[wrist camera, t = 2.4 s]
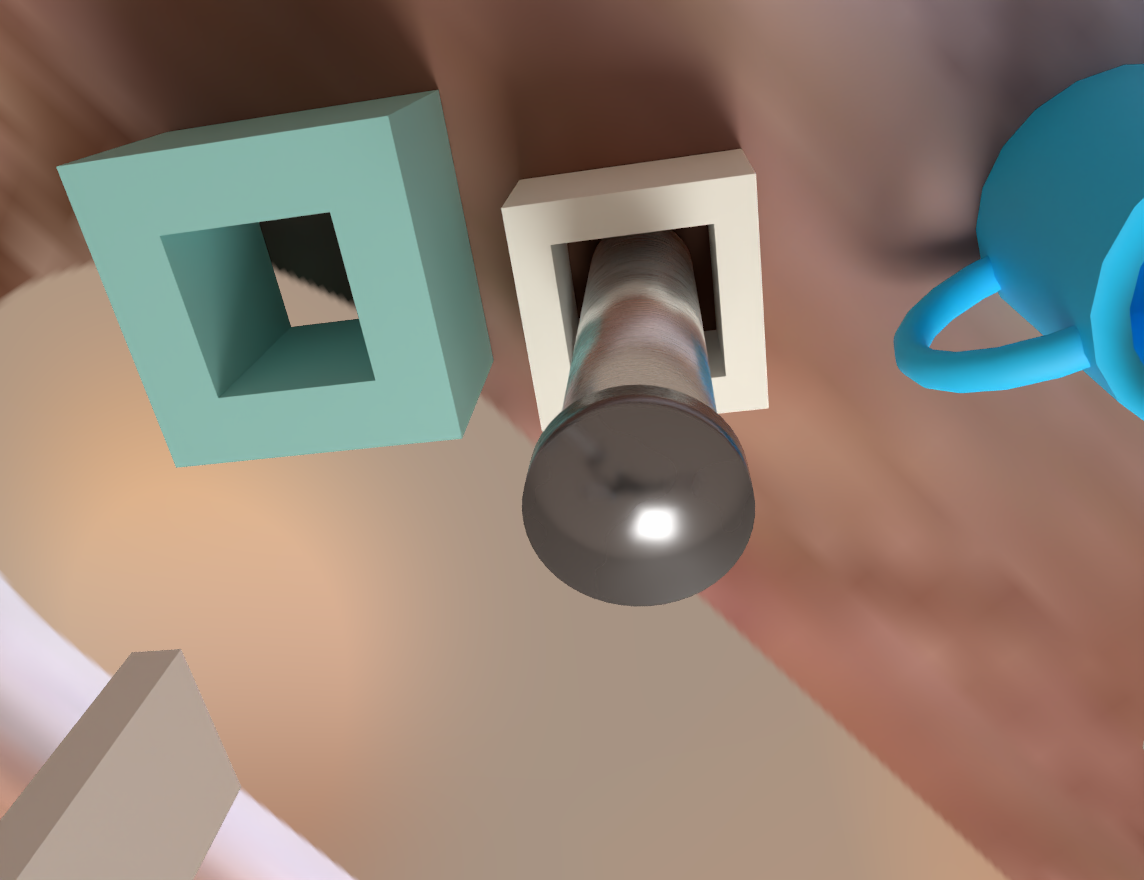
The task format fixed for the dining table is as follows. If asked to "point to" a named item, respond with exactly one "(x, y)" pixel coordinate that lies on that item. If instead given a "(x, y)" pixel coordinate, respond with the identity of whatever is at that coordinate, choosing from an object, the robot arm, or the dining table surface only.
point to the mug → (1054, 252)
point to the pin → (639, 440)
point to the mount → (631, 206)
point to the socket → (251, 293)
